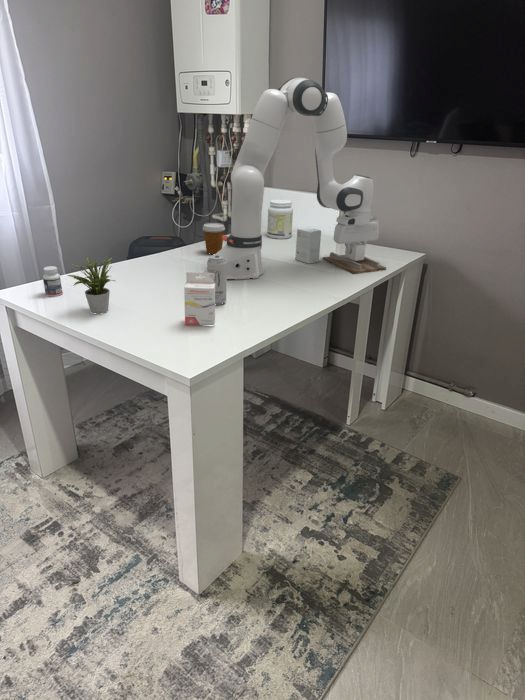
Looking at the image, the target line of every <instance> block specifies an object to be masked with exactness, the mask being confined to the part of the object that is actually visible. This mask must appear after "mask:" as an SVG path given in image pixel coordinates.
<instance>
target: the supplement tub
mask: <svg viewBox="0 0 525 700" xmlns="http://www.w3.org/2000/svg"><path fill="white" fill-rule="evenodd" d="M269 205H270V206H269V207H268V208H267V228H266V229H267V230H266V231H267V232H266V234H267V236H268V237H269V238H271V239H275V238H277V239H276V240H286V239H289V238H291V237H292V235H293V234H292V233H293V217H294V216H293V215H294V209H293V207H292V206H293V205H292V200H288V199H271V200H270V201H269Z"/></svg>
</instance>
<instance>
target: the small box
mask: <svg viewBox="0 0 525 700" xmlns="http://www.w3.org/2000/svg"><path fill="white" fill-rule="evenodd" d="M321 239H322V230H320V229H316V228H313V227H310V226H308V227H299V228H297V229H296V241H295V243H296V244H295V246H296V247H295V260H296V261H300V262H302V263H305V264H308V265H309V264H314V263H318V262H319V261H320V251H321V250H320V249H321Z"/></svg>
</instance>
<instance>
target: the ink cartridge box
mask: <svg viewBox="0 0 525 700" xmlns="http://www.w3.org/2000/svg"><path fill="white" fill-rule="evenodd" d="M185 274H186V275H185V276H186V277H185V278H186V282H185V285H184V296H183V297H184V325H214V324H215V322H216V305H215V282H214V277H215V275H214V273H205V272H194V271H193V272H192V271H187V272H185ZM199 276H200V278H198V277H199ZM201 277H204V278H201ZM215 325H216V324H215ZM215 325H214V326H215Z"/></svg>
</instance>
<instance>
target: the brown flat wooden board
mask: <svg viewBox="0 0 525 700" xmlns="http://www.w3.org/2000/svg"><path fill="white" fill-rule="evenodd" d="M329 253H330V254H329V255H328V256H323V257H322V260H323V261H325V262H327V263H329V264H331V265H333V266H335V267H338V268H340V269H342V270H344V271H347V272H348V273H350V274H352V275H357V274H364V273H365V272H366V273H371V271H373V272H379V270H381V271H386V270H387V267H386V266H383V265H382V264H380V262H379V261H376V260H374V259H371V258H368V257H367V256H364V260H358V261H354V260H352V259H349V258H347V257H345V254H337V253H335V252H334V251H331V252H329Z"/></svg>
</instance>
